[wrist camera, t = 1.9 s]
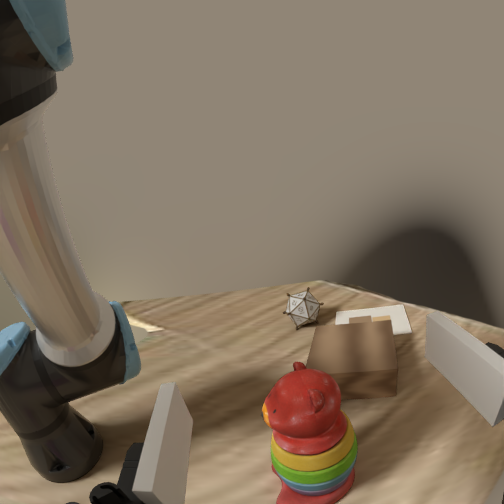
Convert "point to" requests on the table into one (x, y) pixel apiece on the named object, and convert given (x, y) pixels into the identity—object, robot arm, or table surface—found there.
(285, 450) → the stacking bear
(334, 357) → the tower base
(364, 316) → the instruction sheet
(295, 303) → the game die
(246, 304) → the table surface
